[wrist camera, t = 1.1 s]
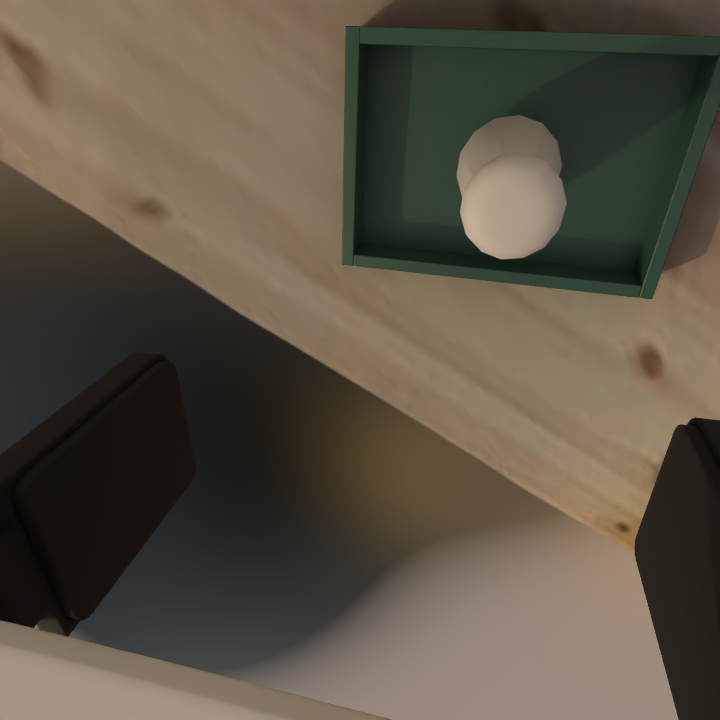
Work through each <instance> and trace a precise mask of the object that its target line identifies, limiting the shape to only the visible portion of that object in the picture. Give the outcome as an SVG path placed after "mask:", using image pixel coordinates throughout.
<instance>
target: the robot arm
mask: <svg viewBox="0 0 720 720" xmlns="http://www.w3.org/2000/svg"><path fill="white" fill-rule="evenodd" d="M195 472H196V461H195V456H194V452H193V447H192V442H191V438H190V433H189V428H188V423H187V419H186V414H185V409H184V405H183V401H182V396H181V391H180V387H179V381H178V377H177V372H176V368H175V366H174V365H173V364H172V363H170V362H169V360H168V359H167V357H166V356H164V355H162V354H154V353H146V352H134V353H133V354H131V355H129V356H128V357H127V358H125V359H124V360H123V361H122V362H120V363H119V364H118V365H116V366H115V367H114V368H112V369H111V370H110V371H109V372H107V373H106V374H105V375H103V376H102V377H101V378H100V379H98V380H97V381H96V382H94V383H93V384H92V385H90V386H89V387H88V388H86V389H85V390H84V391H83V392H81V393H80V394H79V395H77V396H76V397H75V398H73V399H72V400H71V401H70V402H68V403H67V404H66V405H64V406H63V407H62V408H60V409H59V410H58V411H57V412H55V413H54V414H53V415H51V416H50V417H49V418H48V419H46V420H45V421H44V422H42V423H41V424H40V425H39V426H37V427H36V428H35V429H33V430H32V431H31V432H29V433H28V434H27V435H25V436H24V437H23V438H21V439H20V440H19V441H18V442H16V443H15V444H14V445H12V446H11V447H10V448H8V449H7V450H6V451H5V452H3V453H2V454H1V455H0V720H391V719H387V718H383V717H379V716H375V715H372V714H368V713H364V712H360V711H356V710H352V709H348V708H344V707H340V706H337V705H333V704H329V703H325V702H321V701H317V700H314V699H310V698H306V697H302V696H298V695H294V694H290V693H286V692H283V691H279V690H274V689H271V688H267V687H263V686H259V685H256V684H252V683H248V682H244V681H240V680H236V679H232V678H228V677H224V676H220V675H217V674H212V673H209V672H205V671H201V670H197V669H193V668H189V667H185V666H181V665H178V664H174V663H169V662H166V661H162V660H158V659H154V658H150V657H146V656H142V655H138V654H134V653H130V652H126V651H122V650H118V649H114V648H110V647H106V646H102V645H98V644H94V643H90V642H86V641H82V640H78V639H74V638H71V637H68V636H69V635H70V633H71V632H72V631H73V629H74V628H75V627H76V625H77V624H78V623H79V621H80V620H85V619H87V618H88V617H89V616H90V615H91V614H92V613H93V612H94V611H95V609H96V608H97V607H98V605H99V604H100V603H101V601H102V600H103V599H104V597H105V596H106V595H107V593H108V592H109V591H110V589H111V588H112V587H113V585H114V584H115V583H116V581H117V580H118V579H119V577H120V576H121V575H122V573H123V572H124V571H125V569H126V568H127V567H128V566H129V564H130V563H131V561H132V560H133V559H134V558H135V556H136V555H137V554H138V552H139V551H140V550H141V548H142V547H143V546H144V544H145V543H146V542H147V540H148V539H149V538H150V536H151V535H152V534H153V532H154V531H155V529H156V528H157V527H158V526H159V524H160V523H161V522H162V520H163V519H164V518H165V516H166V515H167V514H168V512H169V511H170V510H171V508H172V507H173V506H174V504H175V503H176V502H177V501H178V499H179V498H180V497H181V495H182V494H183V493H184V491H185V490H186V489H187V487H188V485H190V483H191V482H192V480H193V478H194V476H195ZM635 557H636V562H637V566H638V569H639V573H640V577H641V580H642V584H643V588H644V592H645V595H646V599H647V603H648V607H649V610H650V614H651V618H652V622H653V625H654V629H655V633H656V636H657V640H658V644H659V648H660V651H661V655H662V659H663V663H664V666H665V670H666V674H667V678H668V681H669V685H670V689H671V692H672V696H673V700H674V703H675V707H676V711H677V715H678V719H679V720H720V420H711V419H703V418H693V419H691V420H690V421H689V422H688V424H687V425H678V426H677V427H676V429H675V431H674V433H673V436H672V439H671V441H670V444H669V447H668V450H667V453H666V455H665V458H664V461H663V464H662V466H661V469H660V472H659V475H658V478H657V480H656V483H655V486H654V489H653V491H652V494H651V497H650V500H649V503H648V505H647V508H646V511H645V514H644V516H643V519H642V522H641V525H640V528H639V530H638V533H637V536H636V540H635ZM36 624H37V625H38V627H39V629H40V630H39V629H35V628H34V627H35V626H36Z"/></svg>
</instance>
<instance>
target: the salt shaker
mask: <svg viewBox="0 0 720 720" xmlns="http://www.w3.org/2000/svg"><path fill="white" fill-rule="evenodd" d="M561 168H562V161H561V157H560V152H559V147H558V142H557V140H556V139H555V138H554V137H553V135H552V134H551V133H550V132H549V131H548V129H547V128H546V127H545V126H544V124H543V123H540V122H538V121H535V120H532V119H529V118H527V117H524V116H521V115H516V116H508V117H500V118H495V119H493V120H492V121H490V122H489V123H487V124H486V125H484V126H483V127H481V128H479V129H478V130H476V131H475V132H474V133H473V134H472V136H471V137H470V139H469V140H468V142H467V143H466V145H465V146H464V148H463V149H462V151H461V152H460V158H459V164H458V170H457V179H458V183H459V187H460V191H461V195H462V203H461V209H460V215H461V218H462V222H463V226H464V229H465V233H466V235H467V237H468V238H469V239H470V240H471V241H472V242H473V243H474V244H475V245H476V246H477V247H478V248H479V249H480V251H481V252H484V253H486V254H489V255H491V256H494V257H496V258H499V259H515V258H524V257H526V256H528V255H530V254H532V253H534V252H536V251H538V250H540V249H542V248H544V247H545V246H546V245H547V244H548V242H549V241H550V240H551V239H552V238H553V236H554V235H555V234H556V233H557V231H558V230H559V228H560V225H561V221H562V218H563V215H564V211H565V208H566V204H567V202H566V197H565V192H564V188H563V183H562V180H561V179H560V177H559V175H560V171H561Z"/></svg>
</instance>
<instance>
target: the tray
mask: <svg viewBox="0 0 720 720" xmlns="http://www.w3.org/2000/svg"><path fill="white" fill-rule="evenodd" d="M719 105H720V37H715V36H680V35H645V34H610V33H575V32H540V31H505V30H470V29H435V28H400V27H364V26H361V27H360V26H346V50H345V109H344V169H343V228H342V264H343V265H351V266H353V265H354V266H361V267H370V268H379V269H388V270H397V271H405V272H414V273H423V274H432V275H441V276H450V277H459V278H468V279H477V280H486V281H494V282H503V283H512V284H521V285H530V286H539V287H548V288H557V289H566V290H575V291H583V292H592V293H601V294H610V295H619V296H628V297H639V298H646V299H652V298H653V295H654V292H655V290H656V287H657V284H658V281H659V278H660V275H661V272H662V269H663V266H664V264H665V261H666V258H667V255H668V252H669V249H670V246H671V243H672V240H673V238H674V235H675V232H676V229H677V226H678V223H679V220H680V217H681V215H682V212H683V209H684V206H685V203H686V200H687V197H688V194H689V191H690V189H691V186H692V183H693V180H694V177H695V174H696V171H697V168H698V165H699V163H700V160H701V157H702V154H703V151H704V148H705V145H706V142H707V139H708V137H709V134H710V131H711V128H712V125H713V122H714V119H715V116H716V113H717V111H718V108H719ZM516 115H521V116H524V117H527V118H529V119H532V120H535V121H538V122H540V123H543V124H544V126H545V127H546V128H547V129H548V131H549V132H550V133H551V134H552V135H553V137H554V138H555V139H556V140H557V142H558V147H559V152H560V157H561V161H562V168H561V171H560V175H559V177H560V179H561V180H562V183H563V188H564V192H565V197H566V202H567V204H566V208H565V211H564V215H563V218H562V221H561V225H560V228H559V230H558V231H557V233H556V234H555V235H554V236H553V238H552V239H551V240H550V241H549V242H548V244H547V245H546V246H545V247H544V248H542V249H540V250H538V251H536V252H534V253H532V254H530V255H528V256H526V257H524V258H515V259H499V258H496V257H494V256H491V255H489V254H486V253H484V252H481V251H480V249H479V248H478V247H477V246H476V245H475V244H474V243H473V242H472V241H471V240H470V239H469V238H468V237H467V235H466V233H465V229H464V226H463V222H462V218H461V215H460V209H461V203H462V195H461V191H460V187H459V183H458V179H457V170H458V164H459V158H460V152H461V151H462V149H463V148H464V146H465V145H466V143H467V142H468V140H469V139H470V137H471V136H472V134H473V133H474V132H475V131H476V130H478V129H479V128H481V127H483V126H484V125H486V124H487V123H489V122H490V121H492V120H493V119H495V118H500V117H508V116H516Z"/></svg>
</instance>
